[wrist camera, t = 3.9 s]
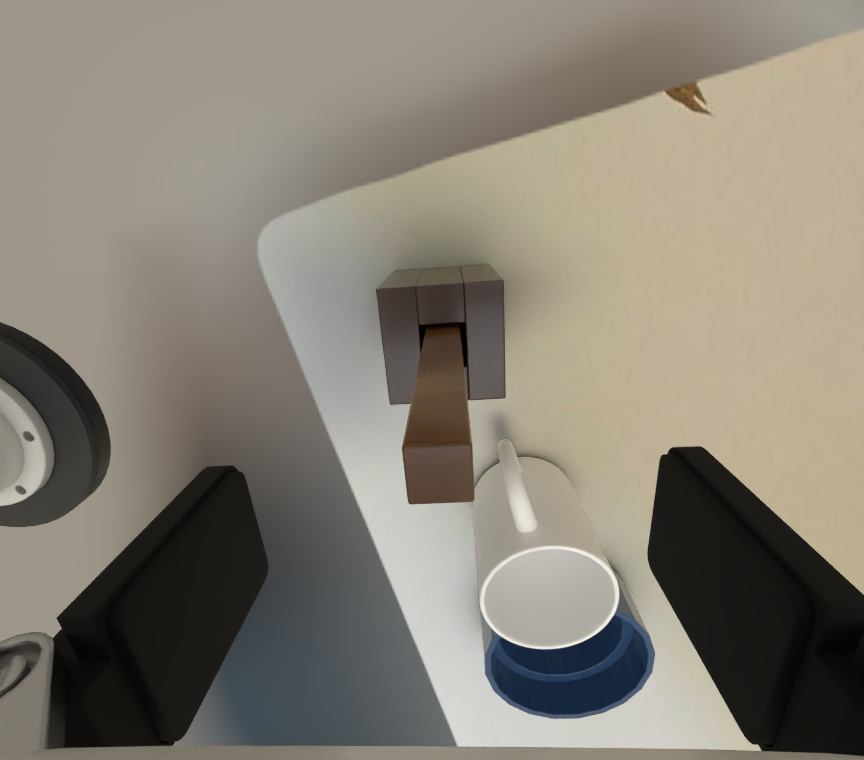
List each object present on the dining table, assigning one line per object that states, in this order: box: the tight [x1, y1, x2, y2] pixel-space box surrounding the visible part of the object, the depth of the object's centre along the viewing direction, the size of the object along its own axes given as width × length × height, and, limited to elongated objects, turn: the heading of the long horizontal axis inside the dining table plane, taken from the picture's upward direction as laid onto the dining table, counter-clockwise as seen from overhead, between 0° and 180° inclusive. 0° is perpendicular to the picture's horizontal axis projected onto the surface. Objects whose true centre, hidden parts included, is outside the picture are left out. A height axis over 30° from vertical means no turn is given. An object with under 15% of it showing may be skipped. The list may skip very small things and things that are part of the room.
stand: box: [376, 264, 506, 405], centre depth 26 cm, size 6×6×8 cm
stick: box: [402, 323, 475, 504], centre depth 20 cm, size 2×2×20 cm
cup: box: [472, 439, 619, 649], centre depth 30 cm, size 8×12×10 cm
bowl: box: [480, 567, 655, 719], centre depth 36 cm, size 13×13×6 cm
